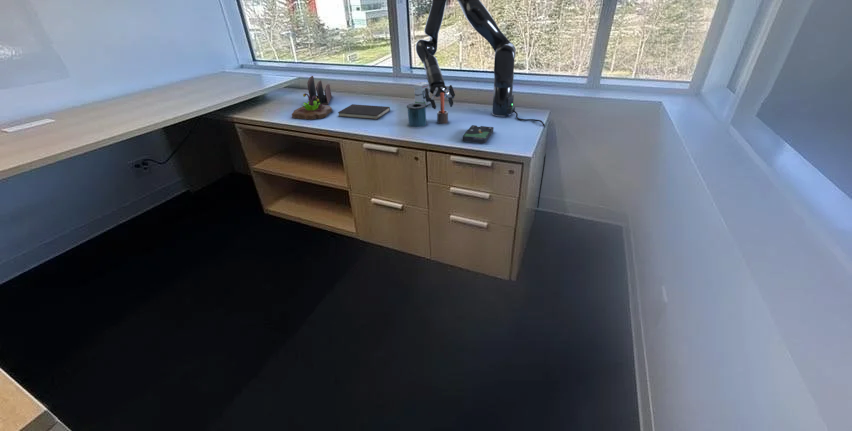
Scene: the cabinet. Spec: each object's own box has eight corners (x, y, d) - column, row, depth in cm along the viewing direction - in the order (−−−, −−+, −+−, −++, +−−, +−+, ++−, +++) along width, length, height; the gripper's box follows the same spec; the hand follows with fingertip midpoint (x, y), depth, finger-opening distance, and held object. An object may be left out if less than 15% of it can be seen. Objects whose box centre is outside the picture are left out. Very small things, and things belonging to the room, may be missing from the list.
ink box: (422, 107, 208) (421, 85, 202) (414, 106, 211) (413, 84, 204) (430, 103, 214) (429, 82, 208) (423, 102, 217) (422, 81, 210)
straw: (445, 121, 185) (444, 92, 177) (443, 122, 184) (442, 93, 176) (442, 121, 186) (441, 92, 178) (440, 122, 184) (439, 93, 177)
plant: (304, 108, 216) (300, 88, 211) (336, 109, 213) (333, 88, 207) (287, 119, 200) (282, 98, 194) (321, 120, 196) (317, 98, 190)
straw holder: (450, 122, 185) (450, 111, 182) (444, 125, 182) (443, 114, 179) (441, 120, 188) (441, 109, 185) (435, 123, 184) (435, 112, 182)
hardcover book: (377, 119, 193) (376, 115, 192) (338, 116, 201) (337, 112, 199) (390, 110, 206) (389, 106, 205) (353, 108, 213) (352, 103, 212)
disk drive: (471, 130, 174) (462, 141, 163) (471, 124, 173) (462, 135, 161) (493, 132, 171) (485, 144, 159) (493, 126, 169) (486, 137, 158)
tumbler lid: (430, 105, 180) (430, 104, 180) (418, 110, 174) (418, 109, 173) (415, 102, 185) (414, 101, 184) (403, 107, 178) (402, 106, 178)
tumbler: (429, 123, 185) (429, 105, 180) (419, 129, 179) (418, 110, 174) (416, 121, 189) (415, 103, 184) (405, 126, 183) (403, 107, 178)
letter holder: (311, 106, 219) (306, 81, 212) (315, 97, 236) (311, 74, 229) (328, 105, 220) (324, 80, 213) (331, 96, 237) (327, 73, 229)
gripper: (422, 74, 177) (430, 104, 174) (450, 70, 181) (459, 101, 178) (419, 83, 184) (427, 113, 181) (446, 80, 188) (455, 109, 185)
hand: (443, 107), depth 179 cm, fingers open, 8 cm apart
